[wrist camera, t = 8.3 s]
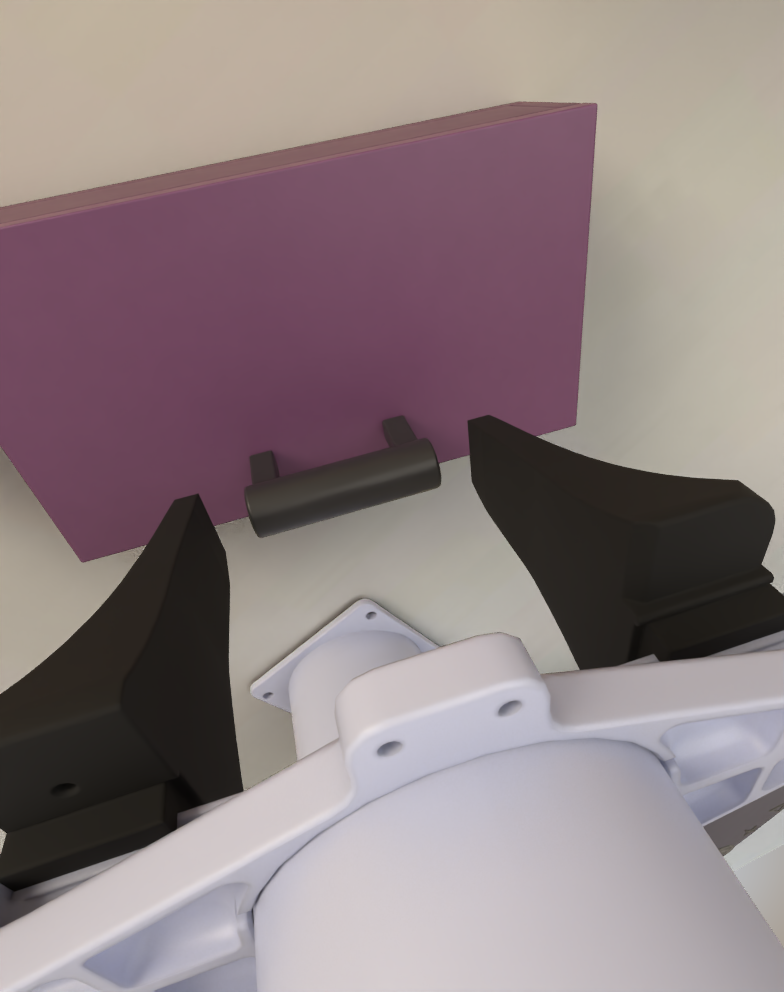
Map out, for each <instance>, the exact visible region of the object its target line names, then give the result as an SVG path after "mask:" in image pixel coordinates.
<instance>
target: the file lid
mask: <svg viewBox="0 0 784 992" xmlns="http://www.w3.org/2000/svg"><path fill="white" fill-rule="evenodd" d="M596 119H597V104H596V103H582V104H577V105H572V106H567V107H562V108H557V109H553V110H548V111H543V112H538V113H533V114H528V115H524V116H519V117H514V118H509V119H504V120H499V121H495V122H490V123H485V124H480V125H475V126H471V127H466V128H461V129H456V130H451V131H446V132H442V133H437V134H432V135H427V136H422V137H417V138H413V139H408V140H403V141H398V142H393V143H388V144H384V145H379V146H374V147H369V148H364V149H360V150H355V151H350V152H345V153H340V154H335V155H331V156H326V157H321V158H316V159H311V160H306V161H302V162H297V163H292V164H287V165H282V166H277V167H273V168H268V169H263V170H258V171H253V172H249V173H244V174H239V175H234V176H229V177H224V178H220V179H215V180H210V181H205V182H200V183H195V184H191V185H186V186H181V187H176V188H171V189H166V190H162V191H157V192H152V193H147V194H142V195H138V196H133V197H128V198H123V199H118V200H113V201H109V202H104V203H99V204H94V205H89V206H84V207H80V208H75V209H70V210H65V211H60V212H56V213H51V214H46V215H41V216H36V217H31V218H27V219H22V220H17V221H12V222H7V223H2V224H0V446H1V448H2V449H3V450H4V452H5V453H6V455H7V456H8V458H9V459H10V460H11V462H12V463H13V465H14V466H15V468H16V469H17V470H18V472H19V473H20V475H21V476H22V478H23V479H24V480H25V482H26V483H27V485H28V486H29V488H30V489H31V490H32V492H33V493H34V495H35V496H36V498H37V499H38V500H39V502H40V503H41V505H42V506H43V508H44V509H45V511H46V512H47V513H48V515H49V516H50V518H51V519H52V521H53V522H54V523H55V525H56V526H57V528H58V529H59V531H60V532H61V533H62V535H63V536H64V538H65V539H66V541H67V542H68V543H69V545H70V546H71V548H72V549H73V551H74V552H75V553H76V555H77V556H78V558H79V559H80V561H81V562H87V561H90V560H94V559H97V558H101V557H105V556H108V555H112V554H115V553H119V552H123V551H126V550H130V549H133V548H137V547H140V546H144V545H147V544H148V543H149V541H150V539H151V538H152V536H153V534H154V533H155V531H156V529H157V528H158V526H159V524H160V523H161V521H162V519H163V518H164V516H165V514H166V513H167V511H168V509H169V508H170V506H171V504H172V503H173V501H174V500H175V499H179V498H183V497H187V496H190V495H194V494H198V493H199V495H200V498H201V500H202V502H203V504H204V506H205V508H206V510H207V513H208V515H209V517H210V519H211V521H212V523H213V526H216V525H219V524H223V523H227V522H230V521H234V520H237V519H241V518H244V517H248V516H249V518H250V521H251V524H252V526H253V529H254V531H255V533H256V534H257V536H258V537H260V538H263V537H267V536H270V535H274V534H277V533H281V532H284V531H288V530H291V529H295V528H298V527H302V526H305V525H309V524H312V523H316V522H319V521H323V520H327V519H330V518H334V517H337V516H341V515H344V514H348V513H351V512H355V511H358V510H362V509H365V508H369V507H372V506H376V505H379V504H383V503H386V502H390V501H393V500H397V499H400V498H404V497H408V496H411V495H415V494H418V493H422V492H425V491H429V490H432V489H436V488H438V487H439V486H440V485H441V471H440V466H439V463H442V462H445V461H449V460H453V459H456V458H460V457H463V456H467V455H470V450H469V437H468V423H467V420H471V419H474V418H478V417H482V416H485V415H491V416H493V417H496V418H498V419H500V420H502V421H504V422H506V423H509V424H511V425H513V426H515V427H517V428H519V429H521V430H523V431H525V432H527V433H530V434H532V435H534V436H539V435H542V434H546V433H549V432H553V431H557V430H560V429H564V428H567V427H571V426H575V425H576V415H577V400H578V385H579V371H580V356H581V341H582V326H583V311H584V297H585V282H586V267H587V252H588V237H589V223H590V208H591V193H592V178H593V163H594V149H595V134H596Z"/></svg>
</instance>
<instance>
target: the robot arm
mask: <svg viewBox="0 0 784 992" xmlns="http://www.w3.org/2000/svg"><path fill="white" fill-rule="evenodd" d="M467 423H468V437H469V450H470V464H471V477H472V483H473V485H474V487H475V489H476V491H477V493H478V495H479V497H480V499H481V501H482V503H483V505H484V507H485V509H486V511H487V512H488V514H489V515H490V517H491V518H492V519H493V521H494V522H495V524H496V525H497V527H498V528H499V530H500V531H501V532H502V534H503V535H504V537H505V538H506V539H507V541H508V542H509V544H510V545H511V547H512V548H513V549H514V551H515V552H516V554H517V555H518V556H519V558H520V559H521V561H522V562H523V564H524V565H525V566H526V568H527V570H528V571H529V573H530V574H531V576H532V577H533V579H534V581H535V583H536V584H537V586H538V588H539V590H540V592H541V594H542V596H543V597H544V599H545V601H546V603H547V605H548V607H549V609H550V611H551V612H552V614H553V616H554V618H555V620H556V622H557V624H558V626H559V628H560V630H561V632H562V634H563V636H564V638H565V640H566V642H567V644H568V646H569V648H570V650H571V652H572V655H573V657H574V659H575V661H576V663H577V665H578V667H579V669H580V670H576V671H566V672H556V673H546V674H540V673H539V672H538V670H537V668H536V666H535V664H534V663H533V661H532V659H531V657H530V656H529V654H528V652H527V650H526V648H525V647H524V645H523V643H522V641H521V640H520V638H517V637H514V636H511V635H508V634H505V633H501V632H497V633H490V634H483V635H477V636H474V637H471V638H467V639H464V640H461V641H458V642H455V643H452V644H449V645H445V646H442V647H439V646H438V645H436V644H435V643H433V642H432V641H430V640H429V639H427V638H426V637H425V636H423V635H422V634H420V633H419V632H417V631H416V630H414V629H413V628H411V627H410V626H408V625H407V624H405V623H404V622H403V621H401V620H400V619H398V618H397V617H395V616H394V615H392V614H391V613H389V612H388V611H386V610H385V609H384V608H382V607H381V606H379V605H378V604H376V603H375V602H373V601H372V600H370V599H360V600H358V601H357V602H355V603H354V604H353V605H352V606H350V607H349V608H348V609H347V610H345V611H344V612H343V613H341V614H340V615H339V616H338V617H336V618H335V619H334V620H333V621H331V622H330V623H329V624H328V625H326V626H325V627H324V628H322V629H321V630H320V631H319V632H317V633H316V634H315V635H314V636H312V637H311V638H310V639H309V640H307V641H306V642H305V643H303V644H302V645H301V646H300V647H298V648H297V649H296V650H295V651H293V652H292V653H291V654H289V655H288V656H287V657H286V658H284V659H283V660H282V661H281V662H279V663H278V664H277V665H276V666H274V667H273V668H272V669H270V670H269V671H268V672H267V673H265V674H264V675H263V676H262V677H260V678H259V679H258V680H257V681H255V682H254V683H253V684H252V685H251V687H250V692H251V695H252V696H253V697H255V698H257V699H259V700H262V701H264V702H266V703H269V704H271V705H273V706H275V707H278V708H280V709H282V710H285V711H287V712H289V713H291V714H292V722H293V730H294V737H295V745H296V753H297V761H296V762H295V763H293V764H291V765H289V766H288V767H286V768H284V769H282V770H281V771H279V772H277V773H275V774H274V775H272V776H270V777H268V778H266V779H265V780H263V781H261V782H259V783H258V784H256V785H254V786H252V787H251V788H249V789H247V790H245V791H243V784H242V777H241V770H240V763H239V756H238V748H237V741H236V733H235V724H234V716H233V707H232V697H231V687H230V677H229V613H230V582H229V574H228V566H227V559H226V552H225V549H224V547H223V545H222V543H221V541H220V539H219V536H218V534H217V532H216V530H215V528H214V526H213V523H212V521H211V519H210V517H209V515H208V513H207V510H206V508H205V506H204V504H203V502H202V500H201V498H200V495H199V493H198V494H194V495H190V496H187V497H183V498H179V499H175V500H174V501H173V503H172V504H171V506H170V508H169V509H168V511H167V513H166V514H165V516H164V518H163V519H162V521H161V523H160V524H159V526H158V528H157V529H156V531H155V533H154V534H153V536H152V538H151V539H150V541H149V543H148V544H147V546H146V547H145V549H144V550H143V552H142V554H141V555H140V556H139V558H138V559H137V561H136V562H135V563H134V565H133V566H132V568H131V569H130V571H129V572H128V573H127V575H126V576H125V578H124V579H123V580H122V582H121V583H120V584H119V586H118V587H117V588H116V589H115V590H114V592H113V593H112V594H111V595H110V596H109V598H108V599H107V600H106V601H105V602H104V603H103V604H102V606H101V607H100V608H99V609H98V610H97V611H96V612H95V613H94V614H93V616H92V617H91V618H90V619H89V620H87V621H86V622H85V623H84V624H83V625H82V626H81V627H80V628H79V629H78V630H77V631H76V632H75V633H74V634H73V635H72V636H71V637H70V638H69V639H68V640H67V641H66V642H65V643H64V644H63V645H62V646H61V647H60V648H58V649H57V650H56V651H55V652H54V653H53V654H52V655H50V656H49V657H48V658H47V659H46V660H44V661H43V662H42V663H41V664H40V665H38V666H37V667H36V668H35V669H34V670H32V671H31V672H30V673H29V674H27V675H26V676H25V677H23V678H22V679H21V680H19V681H18V682H17V683H15V684H14V685H13V686H11V687H10V688H8V689H7V690H6V691H4V692H3V693H2V694H0V829H2V830H3V831H4V832H6V833H7V834H6V838H5V841H4V845H3V849H2V852H1V854H0V992H784V947H783V946H782V944H781V943H780V941H779V940H778V938H777V937H776V935H775V934H774V932H773V931H772V929H771V928H770V926H769V925H768V923H767V922H766V920H765V919H764V917H763V916H762V914H761V913H760V911H759V910H758V908H757V907H756V905H755V904H754V902H753V901H752V899H751V898H750V896H749V895H748V893H747V892H746V890H745V889H744V887H743V886H742V884H741V883H740V881H739V880H738V878H737V877H736V875H735V874H734V872H733V871H732V869H731V868H730V866H729V865H728V863H727V862H726V860H725V859H724V857H723V856H722V854H721V853H720V851H719V850H718V848H717V847H716V845H715V844H714V842H713V841H712V839H711V838H710V836H709V835H708V833H707V832H706V830H705V829H704V827H703V826H705V825H707V824H709V823H711V822H713V821H715V820H717V819H719V818H721V817H723V816H725V815H727V814H729V813H731V812H733V811H735V810H737V809H739V808H741V807H743V806H745V805H747V804H749V803H751V802H753V801H755V800H757V799H758V798H760V797H762V796H764V795H766V794H768V793H770V792H772V791H774V790H776V789H778V788H780V787H782V786H784V593H783V594H781V593H780V592H779V591H778V590H777V589H775V588H774V587H773V586H772V585H771V584H770V583H772V582H773V580H774V577H773V574H772V573H771V572H770V571H768V570H767V569H766V568H765V567H764V566H763V565H761V564H762V561H763V559H764V556H765V553H766V550H767V548H768V545H769V542H770V540H771V537H772V534H773V530H774V525H775V514H774V510H773V508H772V507H771V505H770V504H769V503H768V502H767V501H766V500H764V499H763V498H762V497H760V496H759V495H757V494H756V493H755V492H753V491H752V490H751V489H749V488H748V487H747V486H745V485H744V484H743V483H741V482H740V481H738V480H722V479H704V478H690V477H681V476H673V475H665V474H658V473H652V472H646V471H641V470H637V469H632V468H627V467H622V466H618V465H614V464H610V463H607V462H603V461H600V460H596V459H593V458H589V457H586V456H583V455H580V454H578V453H575V452H572V451H570V450H567V449H564V448H562V447H559V446H557V445H554V444H552V443H550V442H547V441H545V440H543V439H540V438H538V437H536V436H534V435H532V434H530V433H527V432H525V431H523V430H521V429H519V428H517V427H515V426H513V425H511V424H509V423H506V422H504V421H502V420H500V419H498V418H496V417H493V416H491V415H485V416H482V417H478V418H474V419H471V420H467ZM370 612H372V613H370ZM368 613H369V614H368Z"/></svg>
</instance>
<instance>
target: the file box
mask: <svg viewBox="0 0 784 992" xmlns="http://www.w3.org/2000/svg"><path fill="white" fill-rule="evenodd" d="M577 104H581V103H553V102H515V103H510V104H505V105H500V106H495V107H490V108H485V109H480V110H475V111H471V112H466V113H461V114H456V115H451V116H446V117H441V118H436V119H431V120H426V121H422V122H417V123H412V124H407V125H402V126H397V127H392V128H387V129H382V130H377V131H373V132H368V133H363V134H358V135H353V136H348V137H343V138H338V139H333V140H328V141H323V142H319V143H314V144H309V145H304V146H299V147H294V148H289V149H284V150H279V151H274V152H270V153H265V154H260V155H255V156H250V157H245V158H240V159H235V160H230V161H225V162H221V163H216V164H211V165H206V166H201V167H196V168H191V169H186V170H181V171H176V172H172V173H167V174H162V175H157V176H152V177H147V178H142V179H137V180H132V181H127V182H122V183H118V184H113V185H108V186H103V187H98V188H93V189H88V190H83V191H78V192H73V193H69V194H64V195H59V196H54V197H49V198H44V199H39V200H34V201H29V202H24V203H20V204H15V205H10V206H5V207H0V224H2V223H7V222H12V221H17V220H22V219H27V218H31V217H36V216H41V215H46V214H51V213H56V212H60V211H65V210H70V209H75V208H80V207H84V206H89V205H94V204H99V203H104V202H109V201H113V200H118V199H123V198H128V197H133V196H138V195H142V194H147V193H152V192H157V191H162V190H166V189H171V188H176V187H181V186H186V185H191V184H195V183H200V182H205V181H210V180H215V179H220V178H224V177H229V176H234V175H239V174H244V173H249V172H253V171H258V170H263V169H268V168H273V167H277V166H282V165H287V164H292V163H297V162H302V161H306V160H311V159H316V158H321V157H326V156H331V155H335V154H340V153H345V152H350V151H355V150H360V149H364V148H369V147H374V146H379V145H384V144H388V143H393V142H398V141H403V140H408V139H413V138H417V137H422V136H427V135H432V134H437V133H442V132H446V131H451V130H456V129H461V128H466V127H471V126H475V125H480V124H485V123H490V122H495V121H499V120H504V119H509V118H514V117H519V116H524V115H528V114H533V113H538V112H543V111H548V110H553V109H557V108H562V107H567V106H572V105H577Z"/></svg>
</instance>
